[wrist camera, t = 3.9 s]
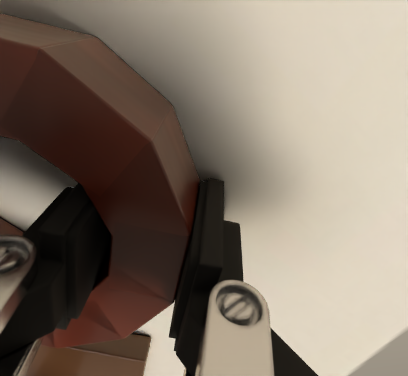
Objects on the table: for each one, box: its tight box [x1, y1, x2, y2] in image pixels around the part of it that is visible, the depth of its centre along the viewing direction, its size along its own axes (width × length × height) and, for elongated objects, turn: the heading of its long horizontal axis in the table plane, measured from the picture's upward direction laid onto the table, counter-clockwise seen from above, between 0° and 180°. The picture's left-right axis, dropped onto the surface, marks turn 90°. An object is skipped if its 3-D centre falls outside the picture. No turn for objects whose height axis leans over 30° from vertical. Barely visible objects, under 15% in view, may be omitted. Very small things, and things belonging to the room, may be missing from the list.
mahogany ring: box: [0, 13, 200, 348], centre depth 9 cm, size 10×10×3 cm
